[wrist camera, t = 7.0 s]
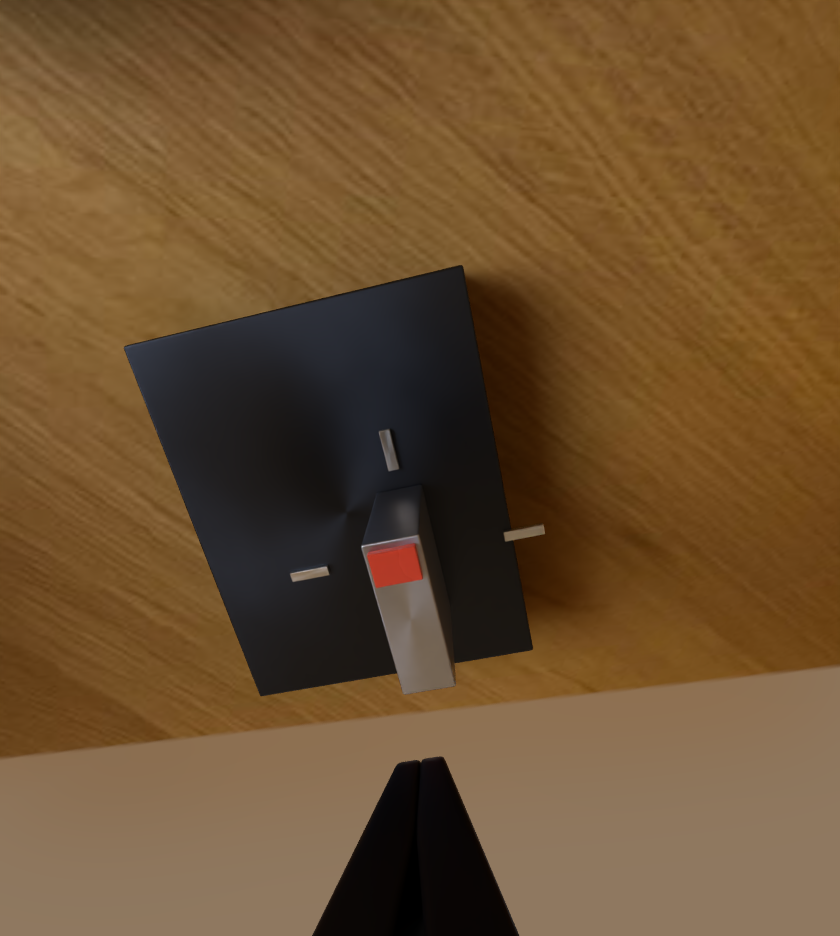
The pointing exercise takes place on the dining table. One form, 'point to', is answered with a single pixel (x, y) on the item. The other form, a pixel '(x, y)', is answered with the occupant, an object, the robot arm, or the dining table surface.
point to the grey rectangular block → (410, 589)
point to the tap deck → (337, 470)
